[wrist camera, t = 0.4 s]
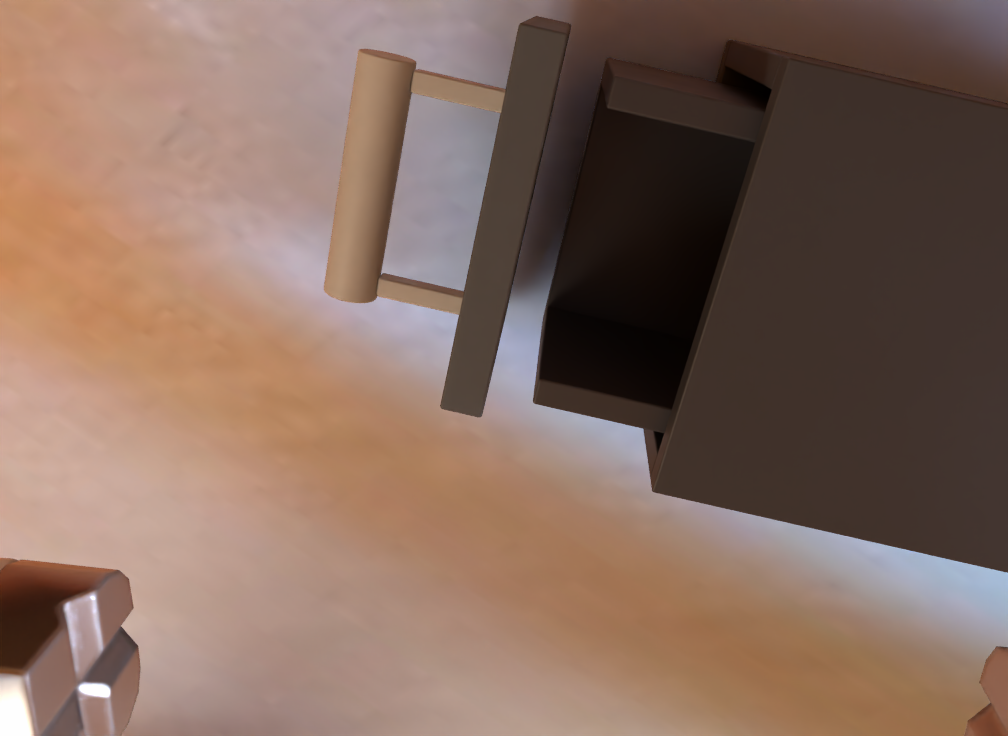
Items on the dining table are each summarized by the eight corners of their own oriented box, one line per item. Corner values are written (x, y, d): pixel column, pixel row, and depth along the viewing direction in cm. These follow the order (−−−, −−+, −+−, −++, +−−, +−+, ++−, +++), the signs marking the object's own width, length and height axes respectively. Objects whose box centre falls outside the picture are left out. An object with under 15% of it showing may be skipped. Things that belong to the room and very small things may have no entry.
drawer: (352, 292, 33) (289, 375, 26) (401, -16, 29) (342, -19, 22) (837, 403, 33) (908, 516, 26) (950, 111, 29) (1070, 149, 22)
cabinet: (633, 363, 34) (651, 492, 26) (727, 38, 30) (789, 57, 21) (1017, 451, 35) (1168, 609, 26) (1166, 140, 30) (1411, 201, 21)
